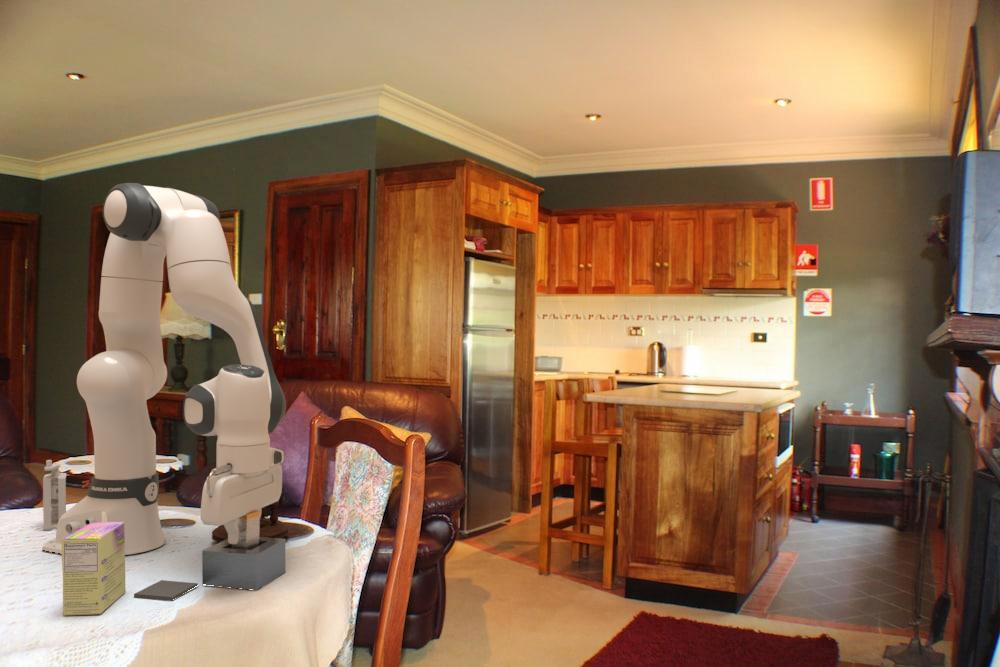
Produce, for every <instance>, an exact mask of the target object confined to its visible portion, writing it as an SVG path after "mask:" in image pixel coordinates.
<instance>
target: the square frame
mask: <svg viewBox="0 0 1000 667" xmlns="http://www.w3.org/2000/svg"><path fill="white" fill-rule="evenodd" d="M201 554H202V555H201V556H202V557H201V558H202V559H201V560H202V561H201V562H202V566H201V567H202V568H201V569H202V571H201V572H202V574H201V575H202V578H201V579H202V580H201V582H202V583H201V584H202V585H203V584H206V585H214V586H222V587H231V588H242V589H253V590H257V589H258V588H260V587H261V588H263V587H264V586H263V585H265V584H266V585H267V583H268V584H269V583H271V582H273V581H274V580H275V579H278V578H279V577H281V576H282V575H284V574H285V573H286V538H267V537H259V546H258V547H256V548H254V549H252V550H243V549H232V544H230V543H229V542H228V539H226V540H224V541H222V542H220V543H218V544H216V543H215V544H214V545H211V546H209V547H208V548H205V549H203V550H202V551H201ZM272 580H273V581H272ZM270 581H271V582H270ZM266 585H265V586H266ZM262 586H263V587H262ZM261 588H260V589H261ZM253 590H252V591H253ZM258 590H259V589H258ZM258 590H257V591H258Z"/></svg>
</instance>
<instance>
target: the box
mask: <svg viewBox="0 0 1000 667" xmlns="http://www.w3.org/2000/svg"><path fill="white" fill-rule="evenodd" d="M61 562H62V564H61V565H62V566H61V567H62V616H63V617H67V616H68V617H69V616H89V615H90V616H93V615H95V616H96V615H101V614H103V612H104V611H106V610H107V609H108V608H109V607H110V606H111V605H112V604H113V603H115V601H117V600H118V599H119V598H120V597H122V596H123V595H124V594H126V555H125V534H124V522H103V523H90V524H88V525H87V526H85V527H83V528H81V529H80V530H78V531H76V532H75V533H73V534H71V535H69V536H68V537H66V538H64V539H62V554H61Z"/></svg>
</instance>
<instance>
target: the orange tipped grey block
mask: <svg viewBox="0 0 1000 667" xmlns="http://www.w3.org/2000/svg"><path fill="white" fill-rule="evenodd" d="M237 526H238V529H239V532H242V541H241V542H239V543H237V544H232V549H243V550H252V549H254V548H256V547H258V546H259V529H260V511H257V510H255V511H253V512H251V513H248V514H246V515H244V516H242V517H240V518H239V524H237Z"/></svg>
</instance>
